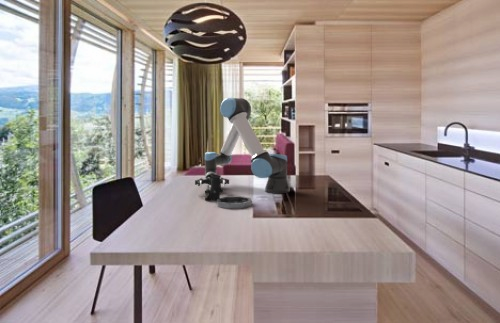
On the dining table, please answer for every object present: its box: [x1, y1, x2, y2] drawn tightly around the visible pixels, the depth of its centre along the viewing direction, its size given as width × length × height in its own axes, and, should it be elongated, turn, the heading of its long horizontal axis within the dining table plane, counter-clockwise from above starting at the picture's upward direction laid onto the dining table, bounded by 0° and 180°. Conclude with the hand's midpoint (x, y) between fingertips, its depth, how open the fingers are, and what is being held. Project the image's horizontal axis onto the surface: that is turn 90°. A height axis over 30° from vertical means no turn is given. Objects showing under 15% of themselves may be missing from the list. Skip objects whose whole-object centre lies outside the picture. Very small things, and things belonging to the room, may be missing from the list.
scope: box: [203, 174, 224, 202], centre depth 222 cm, size 8×14×10 cm
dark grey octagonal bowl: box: [216, 195, 253, 210], centre depth 210 cm, size 18×18×2 cm
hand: (212, 184), depth 228 cm, fingers open, 13 cm apart
